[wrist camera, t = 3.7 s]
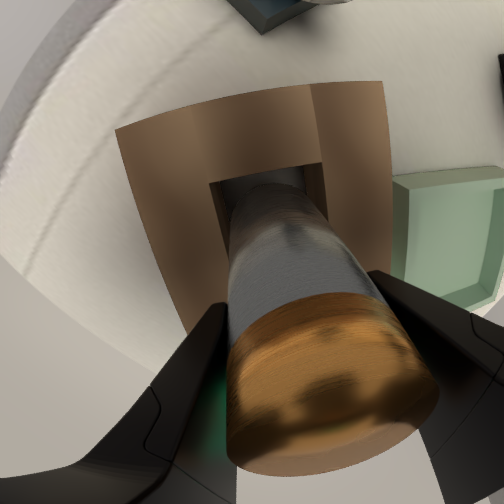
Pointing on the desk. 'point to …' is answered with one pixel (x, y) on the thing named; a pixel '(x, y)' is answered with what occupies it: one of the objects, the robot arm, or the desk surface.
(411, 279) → the tray
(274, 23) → the watch
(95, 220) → the desk surface
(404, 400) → the steel pin
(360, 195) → the hole block
